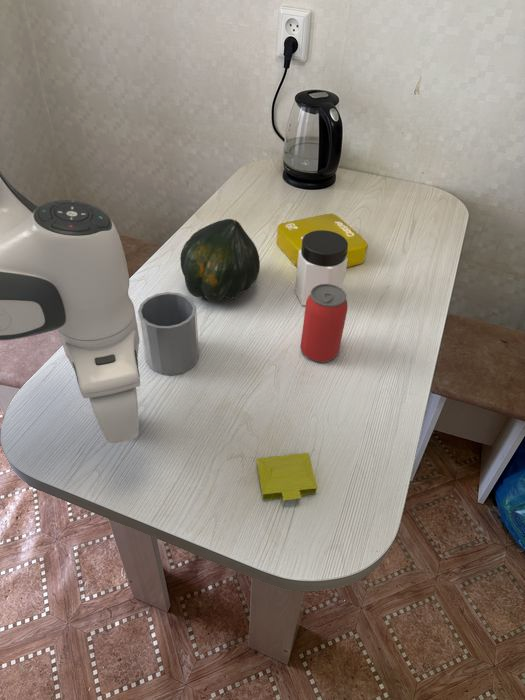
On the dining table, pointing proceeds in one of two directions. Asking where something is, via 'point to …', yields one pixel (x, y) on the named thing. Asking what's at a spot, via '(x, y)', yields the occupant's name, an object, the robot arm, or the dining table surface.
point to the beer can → (324, 322)
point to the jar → (320, 262)
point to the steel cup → (169, 332)
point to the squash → (220, 261)
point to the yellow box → (296, 230)
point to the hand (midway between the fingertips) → (118, 408)
